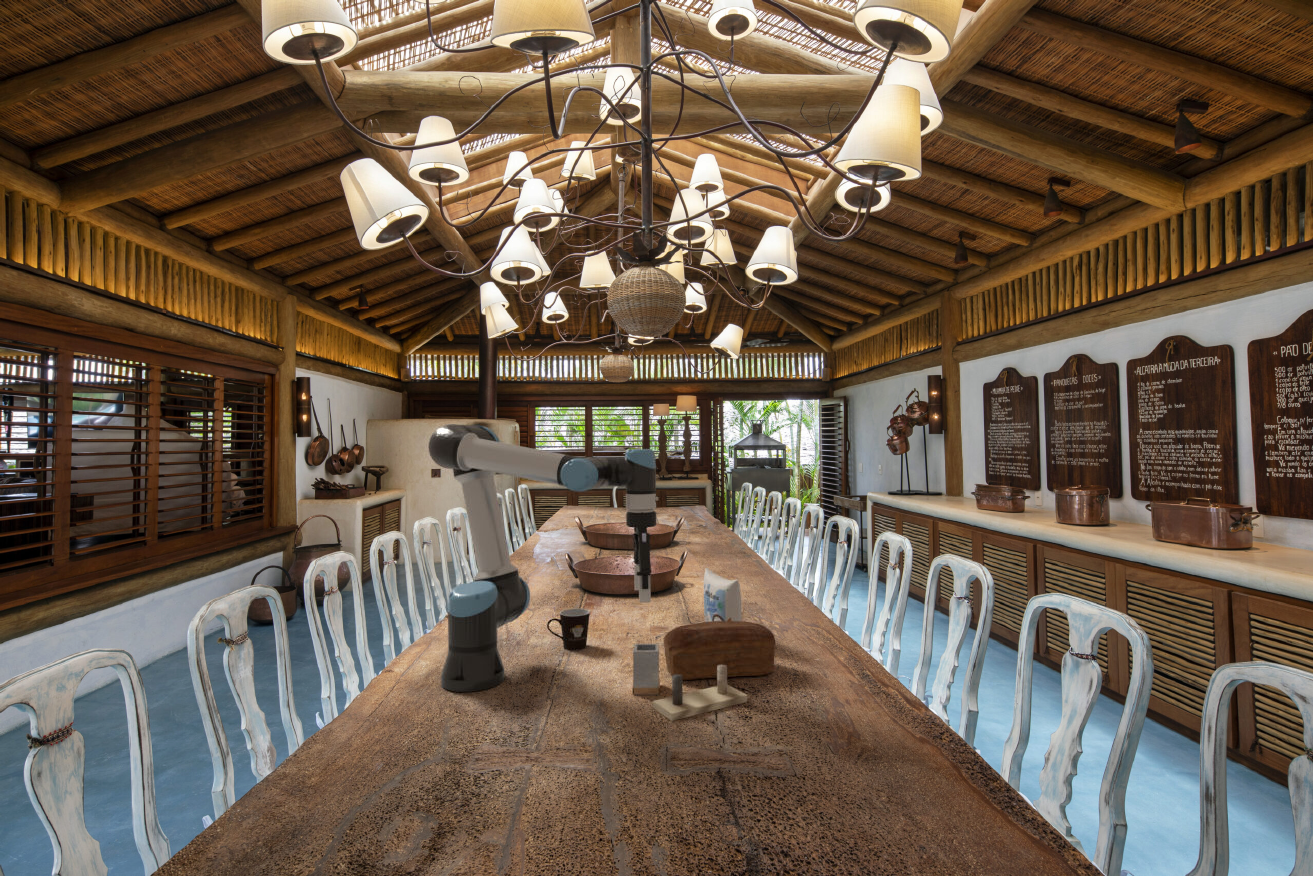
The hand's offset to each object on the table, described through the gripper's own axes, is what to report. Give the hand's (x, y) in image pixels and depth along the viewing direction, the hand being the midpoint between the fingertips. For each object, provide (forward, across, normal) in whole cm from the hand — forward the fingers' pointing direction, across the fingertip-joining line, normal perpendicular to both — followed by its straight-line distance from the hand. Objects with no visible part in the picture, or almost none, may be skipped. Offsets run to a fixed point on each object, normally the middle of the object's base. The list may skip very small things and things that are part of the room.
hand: (642, 595), depth 163 cm
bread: (+21, +2, -20) cm, 29 cm away
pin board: (+20, -18, -11) cm, 30 cm away
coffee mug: (+20, +28, +19) cm, 39 cm away
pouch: (+21, +27, -26) cm, 43 cm away
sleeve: (+20, -8, 0) cm, 22 cm away
